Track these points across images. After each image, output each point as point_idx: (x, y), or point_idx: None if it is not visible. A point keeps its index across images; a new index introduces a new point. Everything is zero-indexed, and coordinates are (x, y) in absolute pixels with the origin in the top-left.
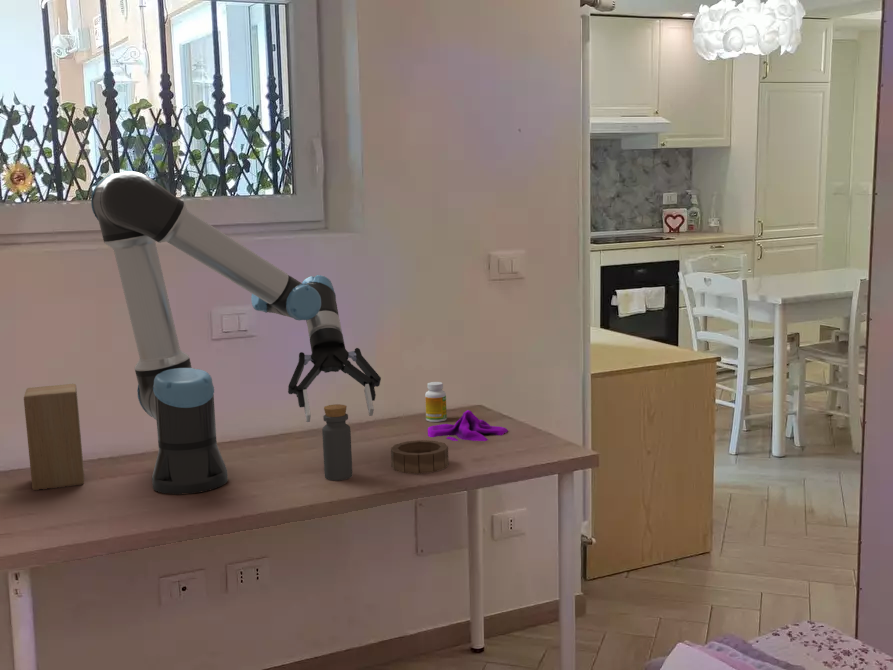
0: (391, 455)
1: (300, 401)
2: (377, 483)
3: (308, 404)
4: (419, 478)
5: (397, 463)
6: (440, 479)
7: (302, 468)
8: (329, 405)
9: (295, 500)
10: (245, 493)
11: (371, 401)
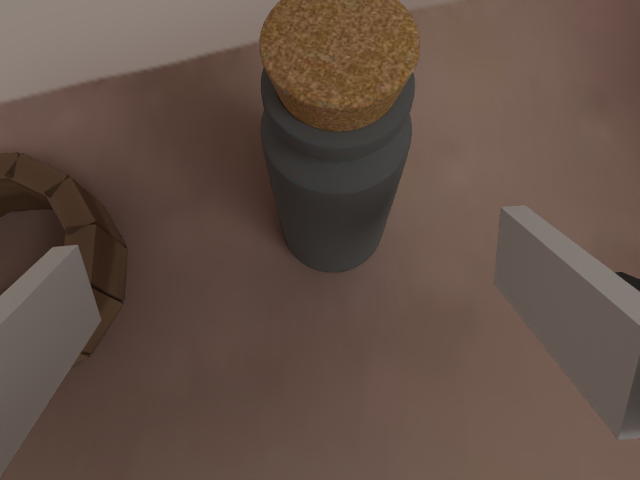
0: (104, 277)
1: (633, 284)
2: (216, 123)
3: (547, 244)
4: (77, 138)
5: (106, 223)
6: (20, 112)
7: (470, 378)
8: (378, 80)
9: (467, 39)
10: (634, 131)
11: (27, 279)
